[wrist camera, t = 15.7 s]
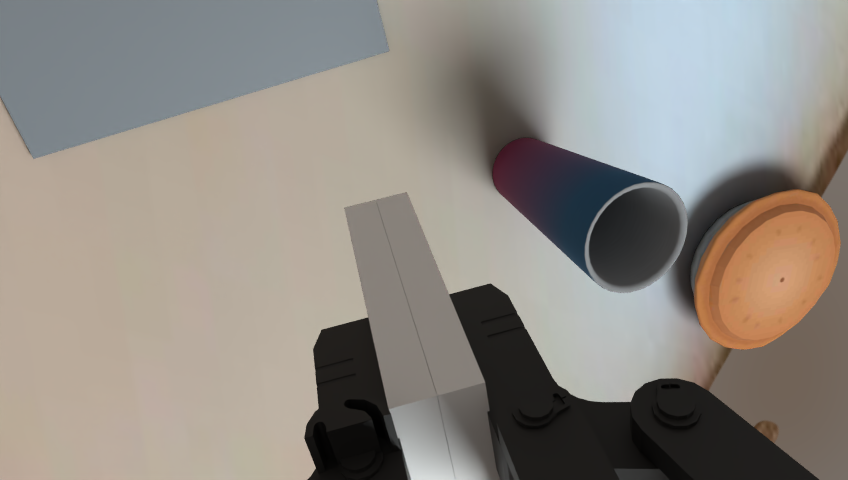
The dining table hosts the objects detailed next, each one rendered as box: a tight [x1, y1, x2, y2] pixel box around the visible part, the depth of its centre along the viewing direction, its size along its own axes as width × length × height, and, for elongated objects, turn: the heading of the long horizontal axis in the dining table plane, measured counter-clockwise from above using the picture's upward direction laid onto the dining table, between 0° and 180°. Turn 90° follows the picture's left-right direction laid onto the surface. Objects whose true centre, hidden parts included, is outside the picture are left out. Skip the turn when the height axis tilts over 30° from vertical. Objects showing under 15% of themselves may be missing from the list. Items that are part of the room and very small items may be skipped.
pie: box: [690, 189, 841, 350], centre depth 59 cm, size 16×16×5 cm
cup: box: [493, 138, 688, 293], centre depth 44 cm, size 7×7×15 cm
